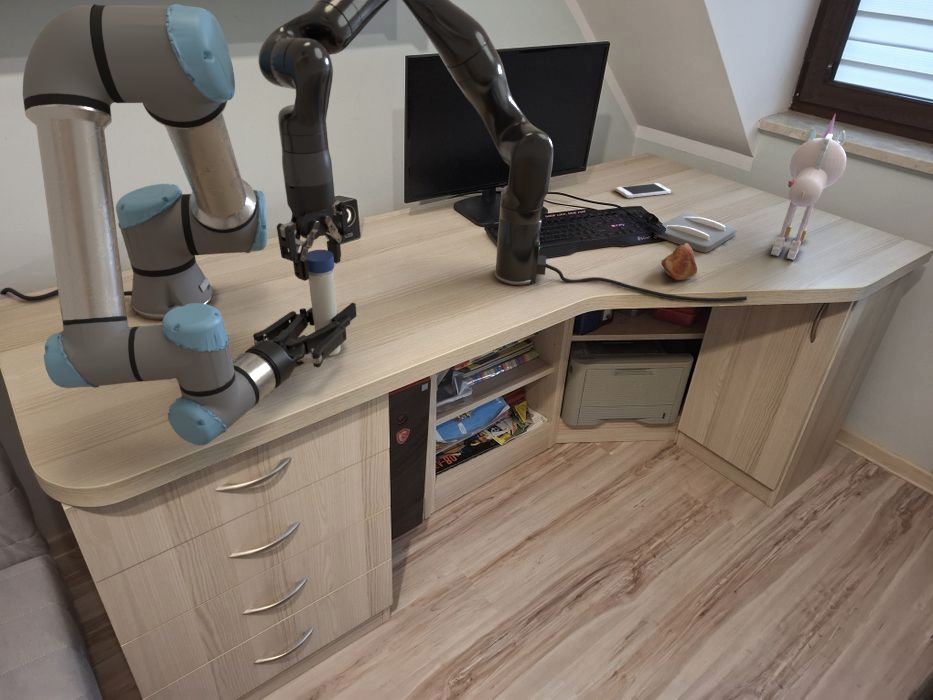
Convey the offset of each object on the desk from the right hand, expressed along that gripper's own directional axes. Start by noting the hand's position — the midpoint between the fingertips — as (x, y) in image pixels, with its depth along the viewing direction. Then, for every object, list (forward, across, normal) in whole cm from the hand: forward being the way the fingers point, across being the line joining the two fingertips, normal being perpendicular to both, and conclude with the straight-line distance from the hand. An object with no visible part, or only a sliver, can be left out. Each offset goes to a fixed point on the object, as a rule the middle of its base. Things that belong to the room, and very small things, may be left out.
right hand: (319, 270), depth 109 cm
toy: (+17, -107, +65) cm, 126 cm away
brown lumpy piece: (+17, -68, +45) cm, 84 cm away
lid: (-3, 0, +1) cm, 3 cm away
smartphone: (+17, -118, +20) cm, 121 cm away
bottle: (+16, 0, 0) cm, 16 cm away
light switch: (+17, -94, +42) cm, 105 cm away
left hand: (+10, -5, 0) cm, 11 cm away
